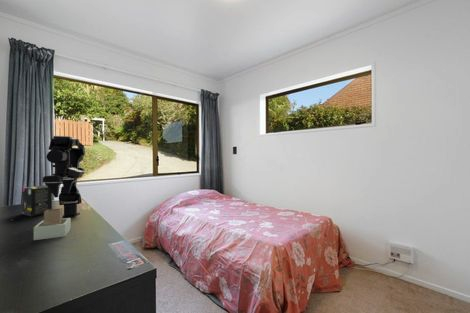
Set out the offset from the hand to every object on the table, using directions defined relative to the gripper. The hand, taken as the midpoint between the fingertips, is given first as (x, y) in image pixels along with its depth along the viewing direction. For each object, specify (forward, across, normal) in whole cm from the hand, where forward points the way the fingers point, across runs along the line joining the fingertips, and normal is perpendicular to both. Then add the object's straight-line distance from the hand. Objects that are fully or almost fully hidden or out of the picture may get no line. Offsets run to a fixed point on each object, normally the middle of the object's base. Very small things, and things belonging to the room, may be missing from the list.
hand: (62, 195), depth 104 cm
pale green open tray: (+13, -16, -5) cm, 21 cm away
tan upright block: (+12, -16, -5) cm, 21 cm away
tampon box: (+13, +22, +23) cm, 35 cm away
